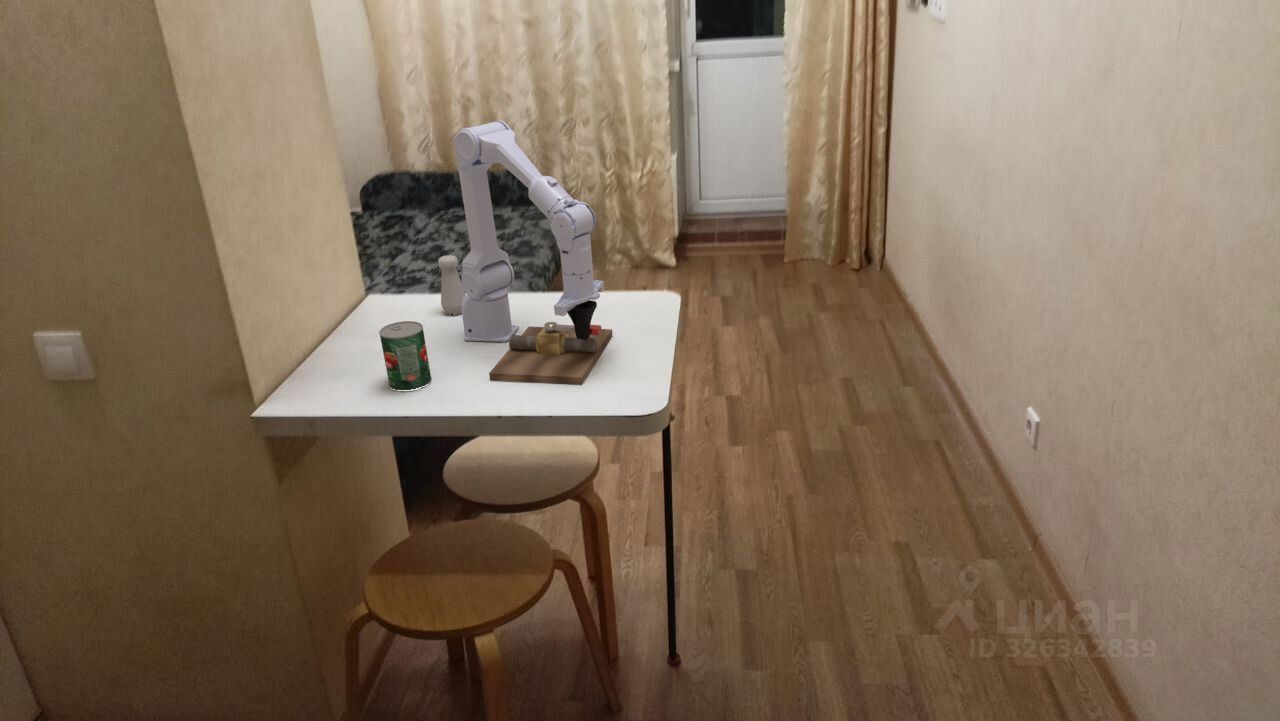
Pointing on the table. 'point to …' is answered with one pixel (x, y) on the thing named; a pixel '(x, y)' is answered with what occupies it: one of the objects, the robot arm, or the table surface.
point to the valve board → (550, 357)
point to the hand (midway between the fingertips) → (583, 338)
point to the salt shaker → (451, 285)
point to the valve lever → (570, 328)
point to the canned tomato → (405, 355)
